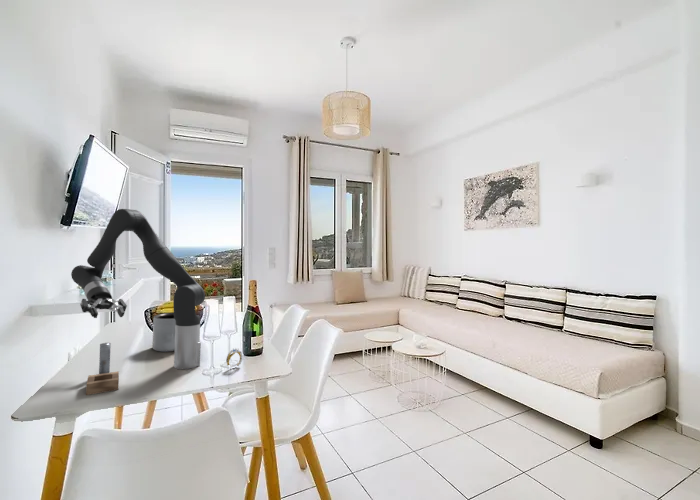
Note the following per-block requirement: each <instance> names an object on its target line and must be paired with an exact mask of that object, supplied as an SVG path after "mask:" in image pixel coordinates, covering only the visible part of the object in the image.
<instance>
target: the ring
mask: <svg viewBox="0 0 700 500" xmlns="http://www.w3.org/2000/svg"><path fill="white" fill-rule="evenodd" d="M235 354H237V355H238V356H239V360H238V363H237V364H236V365H237V366H238V367H239V366H240V365H241V364H242V361H243V357H244V355H243V353H242V351H240V349H239V348H236V347H235V348H232V349H231V350H230V351H229V352H228V354H227V356H226V360H225V363H226V366H228V365H230V366H231V364H230V360H231V358H232V357H233V356H234V355H235Z"/></svg>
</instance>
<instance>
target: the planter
mask: <svg viewBox="0 0 700 500" xmlns="http://www.w3.org/2000/svg"><path fill="white" fill-rule="evenodd" d="M175 326H176V321H175V318H174V312H166V313H165V312H164V313H159V314H156V315H154V316H153V325H152V327H153V328H152V342H151V343H152V345H151V347H152V349H153V350H154V351H156V352H161V353H162V352H163V353H165V352H166V353H167V352H174V351H175Z"/></svg>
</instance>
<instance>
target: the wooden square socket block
mask: <svg viewBox="0 0 700 500" xmlns="http://www.w3.org/2000/svg"><path fill="white" fill-rule="evenodd" d="M119 372H120V371H113V372H112V371H111V372H110V373H103V374H99V373H98V374H97V373H95V374H91V375H88V376H87V381H86V390H85V391H86V392H85V396H91V395H95V394H100V393H107V392H113V391H119V385H120V383H119V382H120V381H119V380H120V378H119V377H120V376H119V375H120V373H119Z"/></svg>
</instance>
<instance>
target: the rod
mask: <svg viewBox="0 0 700 500" xmlns="http://www.w3.org/2000/svg"><path fill="white" fill-rule="evenodd" d="M111 344H112V343H111V342H103V343H100V344H99V360H98V361H99V362H98V363H99V364H98V374H103V373H110V367H111V349H112V348H111V347H112V346H111Z"/></svg>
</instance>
